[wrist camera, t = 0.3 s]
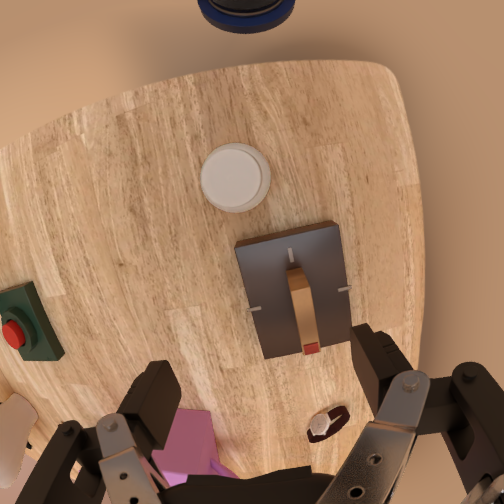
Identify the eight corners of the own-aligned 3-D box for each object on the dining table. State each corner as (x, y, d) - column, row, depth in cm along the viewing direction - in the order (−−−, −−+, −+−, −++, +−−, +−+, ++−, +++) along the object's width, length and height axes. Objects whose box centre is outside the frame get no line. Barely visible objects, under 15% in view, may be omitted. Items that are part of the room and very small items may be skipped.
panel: (232, 242, 29) (230, 249, 27) (335, 219, 28) (342, 223, 26) (261, 347, 33) (261, 361, 30) (350, 327, 32) (356, 339, 29)
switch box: (1, 290, 33) (-15, 299, 29) (32, 280, 32) (15, 291, 28) (30, 354, 36) (17, 366, 32) (65, 353, 35) (52, 367, 31)
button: (5, 320, 30) (-2, 325, 28) (17, 318, 30) (10, 324, 28) (16, 343, 31) (10, 349, 29) (29, 343, 31) (23, 349, 29)
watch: (331, 398, 35) (336, 416, 31) (355, 407, 35) (361, 424, 32) (298, 428, 37) (300, 446, 33) (321, 436, 37) (325, 453, 34)
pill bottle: (239, 138, 27) (228, 121, 17) (280, 175, 27) (290, 175, 18) (203, 179, 28) (174, 182, 18) (243, 214, 29) (234, 235, 19)
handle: (285, 270, 27) (290, 292, 22) (301, 266, 27) (310, 288, 22) (297, 328, 29) (303, 357, 24) (312, 324, 29) (321, 353, 24)
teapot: (90, 393, 37) (51, 452, 23) (244, 412, 36) (238, 495, 22) (117, 447, 41) (94, 500, 27) (248, 464, 40) (244, 530, 26)
